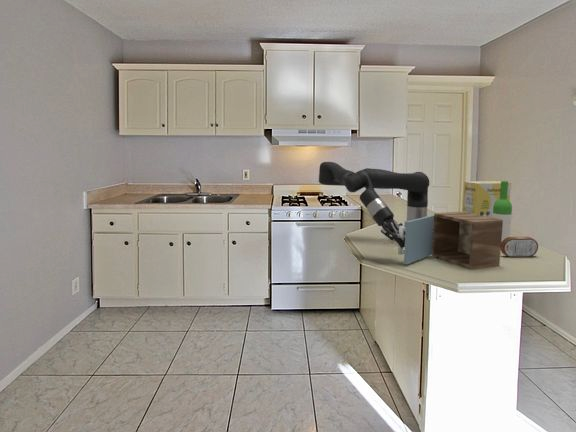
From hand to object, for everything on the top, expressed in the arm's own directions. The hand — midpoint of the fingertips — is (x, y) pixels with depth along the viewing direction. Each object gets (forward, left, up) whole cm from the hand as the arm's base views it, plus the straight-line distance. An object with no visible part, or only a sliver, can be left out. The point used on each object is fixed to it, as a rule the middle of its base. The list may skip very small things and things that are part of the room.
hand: (405, 246), depth 177 cm
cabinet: (+13, +22, -7) cm, 27 cm away
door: (-1, +7, -6) cm, 10 cm away
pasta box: (-1, +69, -7) cm, 70 cm away
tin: (+25, +45, -7) cm, 53 cm away
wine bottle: (+12, +57, -7) cm, 59 cm away
